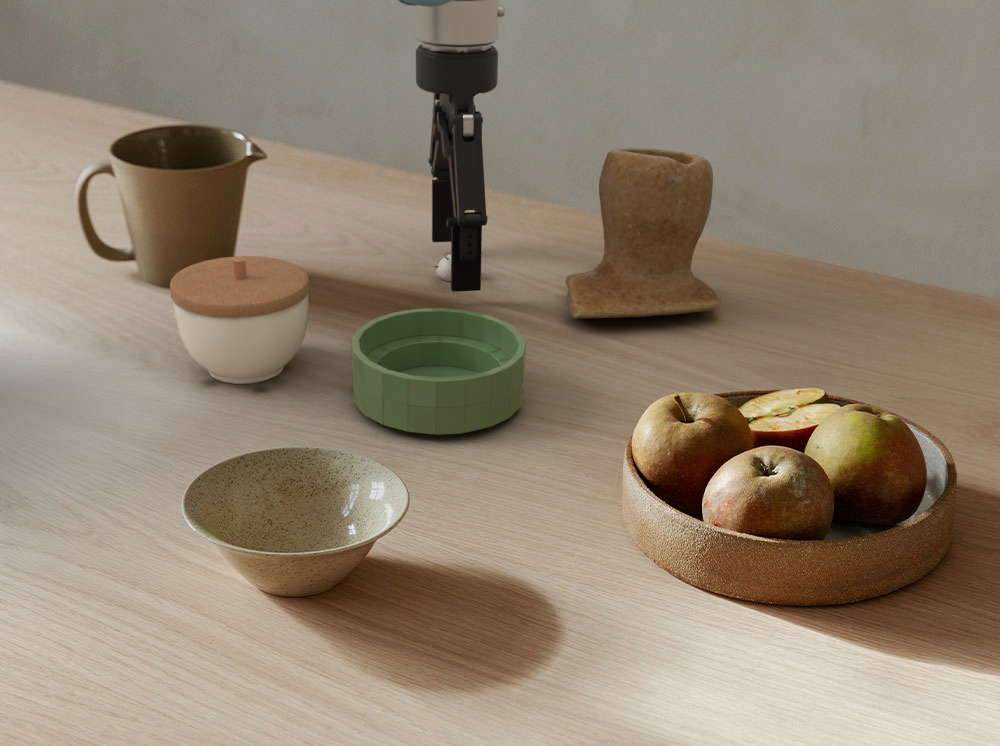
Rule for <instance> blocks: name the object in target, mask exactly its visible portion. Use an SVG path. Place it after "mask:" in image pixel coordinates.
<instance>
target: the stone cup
mask: <svg viewBox="0 0 1000 746" xmlns="http://www.w3.org/2000/svg"><path fill="white" fill-rule="evenodd" d="M600 172H601V173H600V176H599V180H598V196H599V206H600V213H601V222H602V230H603V256H602V258H601V261H600V263H599V264H598V265H597V266H595V267H594V268H593V269H591V270H587V271H582V272H577V273H571V274H568V275H567V276H566V278H565V285H566V288H567V296H566V297H567V299H568V309H569V313H570V315H571V317H572V318H574V319H620V318H643V317H655V316H671V315H681V314H690V313H701V312H707V311H712V310H715V309H717V308H718V307H719V306H720V303H721V299H720V298H719V296H718V294H717V292H716V291H715V290H714V289H713V288H712V287H711V286H710V285H708V284H707V283H705V282H704V281H703V280H701V279H699V278H698V277H696V276H694V274H693V272H692V262H693V257H694V253H695V250H696V247H697V244H698V242H699V240H700V237H701V236H702V234H703V231H704V229H705V227H706V224H707V220H708V218H709V215H710V210H711V205H712V200H713V187H714V173H713V172H714V171H713V167H712V164H711V162H710V161H709V160H708V159H707V158H705V157H703V156H699V155H697V154H693V153H690V152H689V153H687V152H683V151H677V150H670V149H659V148H658V149H657V148H638V147H637V148H636V147H635V148H634V147H633V148H632V147H626V148H619V147H618V148H611V149H610V150H609V151H608V152H607V154H606V156H605V159H604V162H603V164H602V168H601V171H600Z"/></svg>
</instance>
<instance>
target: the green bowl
mask: <svg viewBox="0 0 1000 746" xmlns="http://www.w3.org/2000/svg"><path fill="white" fill-rule="evenodd" d="M350 353H351V354H350V355H351V356H350V357H351V391H352V399H353V403H354V405H355V406H356V408H358V409H359V411H360V412H361V413H362V414H363V416H365V417H367V418H369V419H370V420H373V421H374V422H376V423H378V424H380V425H382V426H384V427H388V428H392V429H396V430H400V431H404V432H407V433H414V434H415V433H416V434H425V435H435V436H436V435H437V436H441V435H442V436H443V435H455V434H456V435H457V434H465V433H471V432H475V431H479V430H484V429H488V428H491V427H494V426H496V425H497V424H500V423H502V422H504V421H507V420H509V419H510V418H511V417H512V416H513V415H514V414H515V413H516V412H517V411H518V410H519V409H520V408H521V406H522V403H523V398H524V394H525V378H526V377H525V376H526V375H525V374H526V360H527V359H526V355H527V342H526V341H525V339H524V337H523V335H522V333H521V332H520V331H519V330H518V329H517V328H515V327H514V326H513V325H512V324H510V323H509V322H507V321H504V320H502V319H499V318H496V317H494V316H492V315H489V314H485V313H482V312H481V313H480V312H476V311H472V310H468V309H458V308H447V307H431V308H430V307H428V308H414V309H407V310H406V309H405V310H401V311H395V312H390V313H388V314H385V315H382V316H379V317H377V318H373V319H371V320H370V321H368V322H367V323H365V324H363V325H361V326H360V327H359V328H358V329H357V330H356V331H355V333H354V334H353V336H352V338H351V340H350Z"/></svg>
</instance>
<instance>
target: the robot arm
mask: <svg viewBox="0 0 1000 746" xmlns="http://www.w3.org/2000/svg"><path fill="white" fill-rule="evenodd" d="M397 1H398V2H399V3H401V4H403V5H406V6H414V38H415V39H416V40H417V41H418V42H420V43H421V44H419V45H418V46H417V48H416V49H415V83H416V85H417V87H418V88H419V89H421V90H422V91H425V92H428V93H431V94H433V106H432V119H431V120H432V121H431V134H430V144H429V145H430V147H429V158H428V164H429V166H430V167H431V169H430V175H431V176H432V179H431V241H432V243H451V244H450V245H451V246H450V254H451V281H450V290H451V292H453V293H455V292H456V293H457V292H475V291H477V292H478V291H481V290H482V247H483V246H482V245H483V243H482V242H483V240H482V239H483V226H487V224H488V219H489V218H488V215H487V203H486V201H487V200H486V187H485V185H486V184H485V171H484V170H485V169H484V168H485V167H484V154H483V152H484V151H483V149H484V148H483V123H484V117H483V115H482V112H480V111H479V110H477V109H476V104H475V102H474V98H475V96H477V95H479V94H486V93H489V92H492V91H494V90H495V88H496V87H497V86H498V80H499V79H498V77H499V71H498V70H499V51H498V50H497V48H496V47H495V46H494V45H493V44H495V43H496V42H497V41H498V39H499V21H498V18H502V17H504V16H505V15H506V8H505V6H503V5H500V3H499V2H500V0H397ZM433 178H436V179H433ZM468 211H470V212H468Z"/></svg>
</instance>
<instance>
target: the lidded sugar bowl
mask: <svg viewBox="0 0 1000 746" xmlns="http://www.w3.org/2000/svg"><path fill="white" fill-rule="evenodd" d="M310 289H311V287H310V276H309V275H308V273H307V271H306V270H304V268H302V267H301V266H299V265H297V264H295V263H293V262H290V261H287V260H284V259H279V258H275V257H266V256H257V255H255V256H254V255H238V256H225V257H218V258H213V259H212V258H211V259H208V260H203V261H200V262H196V263H193V264H191V265H189V266H186V267H184V268H183V269H180V270H179V271H178V272H176V273H175V274H174V276H173V277H172V278H171V280H170V282H169V293H170V298H171V300H172V307H173V313H174V321H175V325H176V328H177V329H176V330H177V332H178V334H179V338H180V340H181V343H182V345H183V347H184V348H185V350H186V352H187V353H188V354H189V356H190V357H191V358H192V360H193V361H194V362H196V364H198V365H199V366H200V367H202V368H203V369H205V370H206V371H207V372H208V374H209V376H211V377H212V378H213V379H215V380H217V381H220V382H223V383H227V384H233V385H235V384H236V385H249V384H256V383H262V382H265V381H268V380H270V379H271V380H272V379H273V378H275V377H278V376H279V375H280V374H281V373H282V372H283V370H284V369H285V366H286V365H287V364H289V362H291V361H292V359H293V358H294V357H295V356H296V355H297V353H298V351H299V350H300V348H301V347H302V344H303V342H304V339H305V338H306V334H307V333H306V332H307V327H308V322H309V320H308V319H309V312H310V311H309V309H310V307H309V306H310V305H309V303H310V301H309V299H310V298H309V292H310Z"/></svg>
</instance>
